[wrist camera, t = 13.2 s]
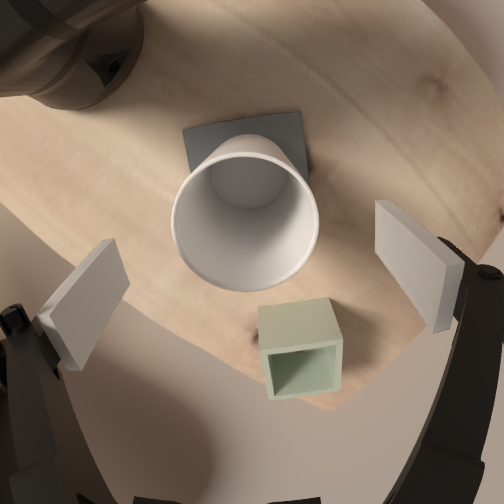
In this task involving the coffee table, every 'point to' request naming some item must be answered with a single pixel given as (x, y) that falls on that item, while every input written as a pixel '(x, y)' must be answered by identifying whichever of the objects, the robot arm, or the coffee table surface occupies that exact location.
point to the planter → (296, 339)
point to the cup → (245, 216)
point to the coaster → (269, 126)
